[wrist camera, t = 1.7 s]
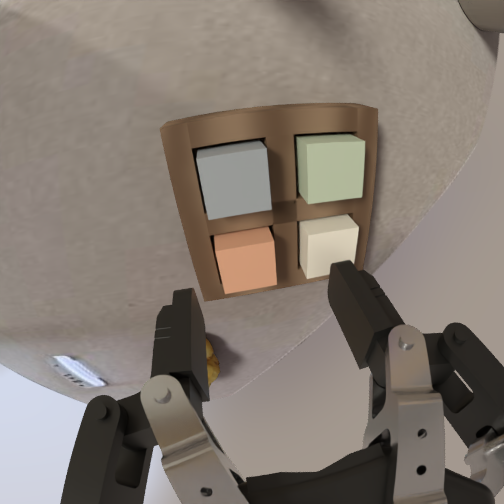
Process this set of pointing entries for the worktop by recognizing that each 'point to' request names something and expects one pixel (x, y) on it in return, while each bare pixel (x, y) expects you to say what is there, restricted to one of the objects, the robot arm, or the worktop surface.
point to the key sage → (329, 167)
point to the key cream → (326, 243)
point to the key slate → (234, 179)
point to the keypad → (280, 177)
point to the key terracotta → (246, 259)
